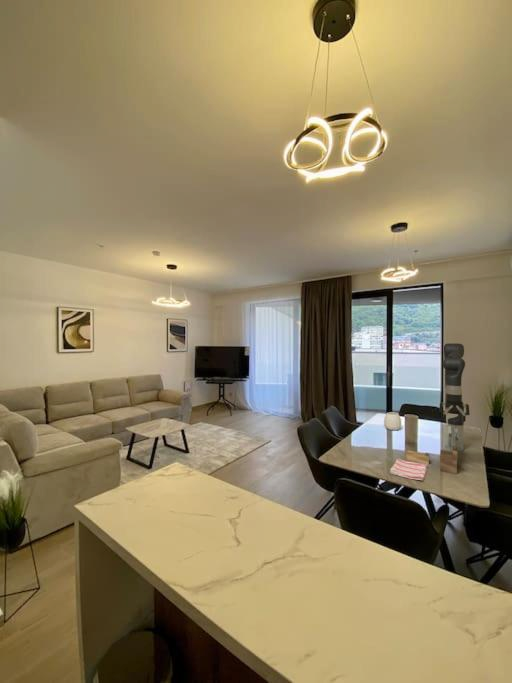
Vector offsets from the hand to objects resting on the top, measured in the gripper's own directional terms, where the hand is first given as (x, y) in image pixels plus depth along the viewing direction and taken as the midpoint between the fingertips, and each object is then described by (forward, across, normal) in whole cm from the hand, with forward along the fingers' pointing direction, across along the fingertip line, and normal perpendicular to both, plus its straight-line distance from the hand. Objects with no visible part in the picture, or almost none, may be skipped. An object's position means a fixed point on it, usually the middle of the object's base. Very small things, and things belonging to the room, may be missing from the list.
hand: (454, 421), depth 170 cm
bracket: (+29, -1, -17) cm, 34 cm away
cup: (+30, +35, -74) cm, 87 cm away
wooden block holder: (+29, +2, -2) cm, 29 cm away
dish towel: (+30, +23, +10) cm, 39 cm away
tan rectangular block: (+29, +18, -8) cm, 35 cm away
